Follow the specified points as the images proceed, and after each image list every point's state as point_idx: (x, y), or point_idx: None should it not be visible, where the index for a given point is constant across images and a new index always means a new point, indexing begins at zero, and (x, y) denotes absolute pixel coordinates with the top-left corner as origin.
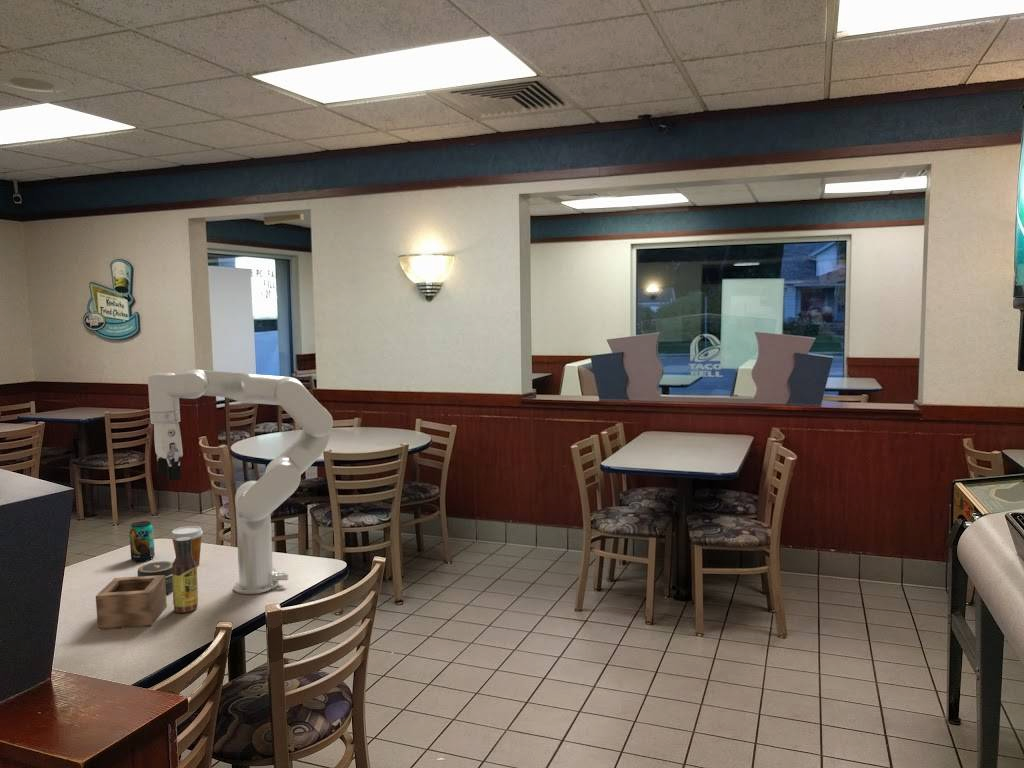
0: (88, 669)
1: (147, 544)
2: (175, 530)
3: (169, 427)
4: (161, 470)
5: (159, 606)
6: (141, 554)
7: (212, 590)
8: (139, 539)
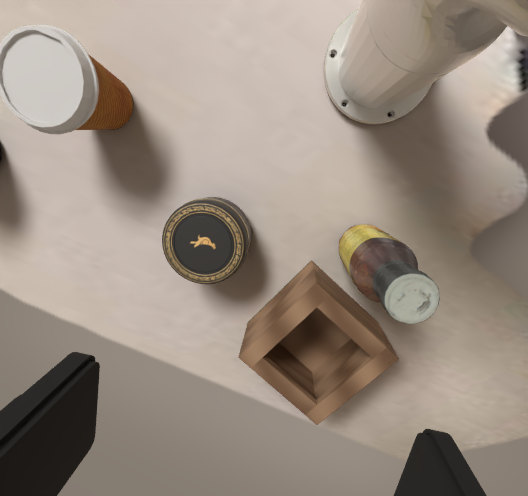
0: None
1: None
2: (11, 102)
3: None
4: (68, 459)
5: (345, 295)
6: None
7: (307, 152)
8: None
